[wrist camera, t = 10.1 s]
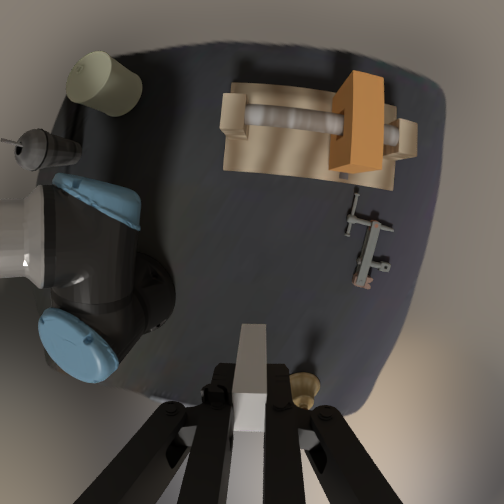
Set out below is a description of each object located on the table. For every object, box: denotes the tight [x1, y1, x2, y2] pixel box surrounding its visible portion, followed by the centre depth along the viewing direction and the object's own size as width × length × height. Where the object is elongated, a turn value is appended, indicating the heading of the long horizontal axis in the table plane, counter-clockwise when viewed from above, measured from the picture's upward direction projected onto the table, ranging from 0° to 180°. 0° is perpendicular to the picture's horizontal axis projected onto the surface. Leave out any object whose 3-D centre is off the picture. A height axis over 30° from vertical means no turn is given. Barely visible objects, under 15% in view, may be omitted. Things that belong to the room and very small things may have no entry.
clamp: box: [345, 193, 394, 289], centre depth 44 cm, size 15×2×10 cm
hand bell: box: [289, 372, 320, 410], centre depth 44 cm, size 8×8×16 cm
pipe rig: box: [220, 83, 417, 191], centre depth 37 cm, size 28×15×10 cm, turn 85°
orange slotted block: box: [328, 70, 384, 174], centre depth 33 cm, size 4×12×12 cm, turn 175°
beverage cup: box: [1, 129, 82, 171], centre depth 34 cm, size 7×7×20 cm
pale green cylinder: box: [66, 51, 142, 117], centre depth 35 cm, size 9×9×12 cm
